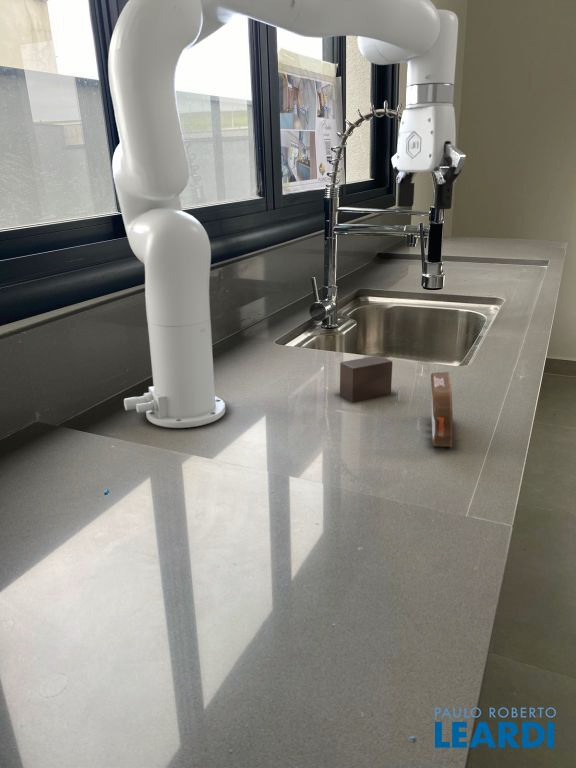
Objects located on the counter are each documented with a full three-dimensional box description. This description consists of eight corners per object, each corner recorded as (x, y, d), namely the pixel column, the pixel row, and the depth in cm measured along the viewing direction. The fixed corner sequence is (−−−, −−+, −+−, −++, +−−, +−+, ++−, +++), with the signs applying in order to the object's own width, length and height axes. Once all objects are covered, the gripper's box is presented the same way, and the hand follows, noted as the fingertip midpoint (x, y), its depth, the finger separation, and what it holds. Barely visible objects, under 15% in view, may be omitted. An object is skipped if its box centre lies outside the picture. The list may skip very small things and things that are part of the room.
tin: (452, 457, 81) (457, 399, 79) (428, 456, 82) (432, 398, 79) (447, 415, 95) (451, 364, 92) (427, 414, 96) (430, 363, 93)
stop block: (352, 402, 101) (353, 368, 99) (339, 395, 105) (340, 362, 103) (391, 394, 105) (392, 361, 103) (377, 387, 108) (378, 355, 106)
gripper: (379, 103, 104) (375, 206, 110) (448, 92, 90) (440, 211, 96) (413, 104, 108) (408, 204, 113) (485, 94, 93) (475, 209, 99)
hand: (423, 207), depth 105 cm, fingers open, 9 cm apart
